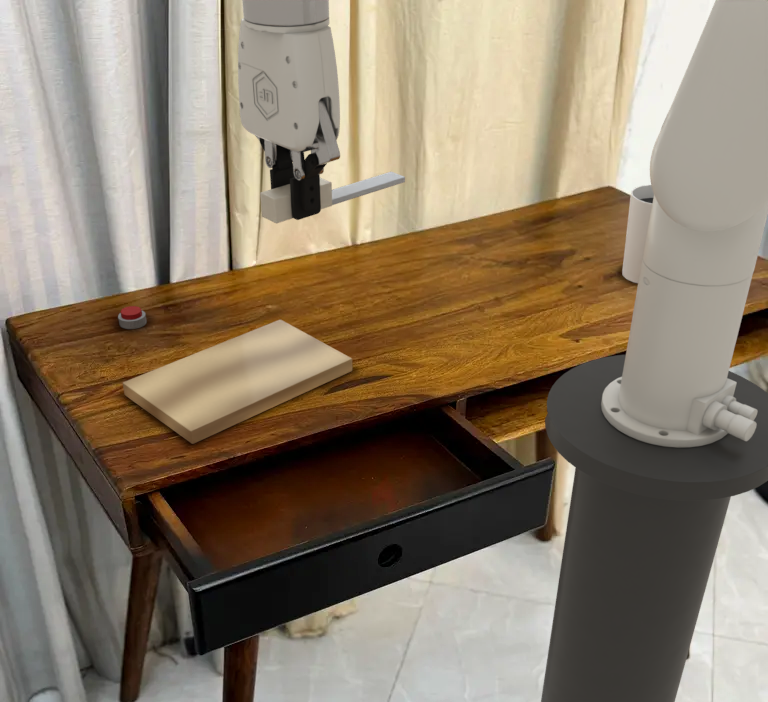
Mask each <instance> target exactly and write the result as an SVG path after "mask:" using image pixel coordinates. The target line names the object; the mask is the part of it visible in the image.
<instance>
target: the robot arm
mask: <svg viewBox="0 0 768 702" xmlns="http://www.w3.org/2000/svg"><path fill="white" fill-rule="evenodd" d="M241 3H242V15H243V17H242V18H241V19H240V25H239V34H238V35H239V36H238V46H237V81H238V103H239V118H240V124H241V125H242V127H243V128H244V129H245V131H247V132H248V133H250V134H251V135H254V136H255V138H256V139H257V140H258V141H259V143H260V145H261V147H262V149H263V152H264V161H265V165H266V166H267V168H268V169H269V181H270V190H271V189H274V188H278V187H281V186H284V185H288V184H290V194H291V209H292V217H293V218H292V219H294V220H296V221H299V220H303V219H306V218H309V217H312V216H315V215H318V214H320V212H321V210H322V209H321V199H320V178H321V175H322V174H324V172H325V171H324V170H325V167H326V166H327V164H329V163H332V162H334V161H338V160H340V159H341V152H340V151H341V150H340V148H339V145H338V141H337V140H338V138H339V136H340V129H341V128H340V127H341V103H340V102H341V101H340V85H339V75H338V66H337V65H338V64H337V60H336V52H335V50H336V49H335V43H334V39H333V33H332V28H331V26H329V25H330V0H241ZM307 152H310V153H309V154H308V155H306V157H305V153H307ZM649 179H650V185H652V189H653V193H654V198H653V203H652V209H651V214H650V219H649V225H648V230H647V235H646V241H645V247H644V253H643V258H642V264H641V270H640V275H639V281H638V283H637V288H636V294H635V299H634V305H633V310H632V318H631V322H630V328H629V335H628V340H627V346H626V352H625V355H626V357H625V363H624V369H623V374H622V377H620V378H617V379H616V380H614V381H613V382H611V383H610V384H609V385H608V386H607V387H606V388H605V390H604V392H603V395H602V401H601V408H602V412H603V414H604V416H605V418H606V419H607V420H608V421H609V423H610V424H611V425H613V426H614V427H615V428H616V429H618V430H619V431H621V432H622V433H624V434H626V435H627V436H630V437H632V438H634V439H637V440H639V441H642V442H646V443H649V444H653V445H658V446H664V447H674V448H690V447H697V446H703V445H707V444H710V443H713V442H715V441H717V440H719V439H721V438H723V437H724V436H725V435H727V434H728V433H729V434H731V435H733V436H735V437H737V438H740V439H742V440H744V441H748V440H749V439H750V438H751V437H752V435H753V434H754V432H755V429H756V425H757V424H756V422H754V419H755V418H756V416H757V412H758V411H757V409H754V408H752V407H750V406H747V405H745V404H744V405H743V404H741V403H739V402H737V401H736V398H735V397H733V395H734V391H735V387H736V384H737V382H735V381H733V380H730V379H728V378H727V376H728V372H729V371H730V367H731V365H732V359H733V355H734V351H735V347H736V343H737V339H738V336H739V331H740V328H741V323H742V319H743V315H744V312H745V307H746V304H747V303H746V302H747V299H748V296H749V290H750V288H751V287H750V286H751V283H752V278H753V274H754V272H755V268H756V264H757V261H758V257H759V252H760V248H761V243H762V240H763V236H764V231H765V227H766V223H767V219H768V0H715V1H714V3H713V6H712V8H711V10H710V13H709V15H708V18H707V20H706V22H705V25H704V27H703V30H702V32H701V34H700V37H699V39H698V42H697V43H696V46H695V49H694V51H693V53H692V56H691V58H690V60H689V62H688V65H687V68H686V70H685V72H684V75H683V77H682V79H681V82H680V84H679V87H678V89H677V91H676V93H675V96H674V99H673V101H672V103H671V105H670V107H669V110H668V112H667V113H666V117H665V118H664V120H663V123H662V125H661V128H660V131H659V133H658V135H657V137H656V140H655V142H654V145H653V148H652V151H651V155H650V161H649Z"/></svg>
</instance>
